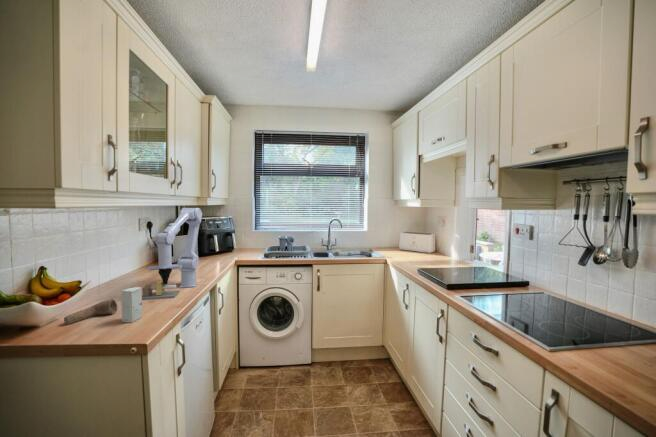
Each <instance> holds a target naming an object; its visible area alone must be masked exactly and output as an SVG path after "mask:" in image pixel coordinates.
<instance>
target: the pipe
mask: <svg viewBox="0 0 656 437" xmlns="http://www.w3.org/2000/svg"><path fill="white" fill-rule="evenodd" d="M117 312H118V303H117V300H115V299H114V298H111V299H106V300H104V301H101V302H98V303H96V304H94V305H91V306H90V307H87V308H84V309H81V310H78V311H76V312H73V313H70V314H68V315H66V316H64V318H63V322H64V323H65V325H72V324H75V323H77V322H81V321H84V320H87V319H89V318H93V317H95V316H106V315H108V316H109V315H115V314H116V313H117Z"/></svg>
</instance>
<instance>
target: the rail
mask: <svg viewBox="0 0 656 437" xmlns="http://www.w3.org/2000/svg"><path fill="white" fill-rule="evenodd" d="M162 289H165V292H164V293H163V294H162V295H156V285H152V284H146V285H144V286H143V287H142V301H146V300H160V299H161V300H163V299H173V298H174V299H175V298H176V297H177V296H178V295H179V293H180V290H172V289H177V284H165V285H163V286H162ZM168 289H169V290H168ZM170 289H171V290H170ZM154 290H155V291H154ZM166 290H167V291H166Z"/></svg>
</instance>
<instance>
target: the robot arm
mask: <svg viewBox="0 0 656 437" xmlns="http://www.w3.org/2000/svg"><path fill="white" fill-rule="evenodd" d="M202 218H203V211H202V210H201V208H199V207H182V208H181V210H179V216H178V217H177V218H176V220H174V222H171V223H169V224H168V225H167V227H166V228H165V229H164V230H163V231H162V232H160V233H158V234H156V236H155V238H154V242H155V243H156V248H158V251H157V252H158V256H157V257H158V265H149V266H148V268H147V270H148V271H158V274H159V276H160V278H161V280H163V284H165V285H168V282H169V277H170V275H171V273H172V271H173V270H179V271H180V277H181V278H180V282H181V283H180V286H178V287H179V288H180V289H181V288H193V287H194V288H195V287H196V286H197V284H198V283H199V282H198V281H197V273H196V270H197V269H198V267H199V264H200V262H199V259H200V258H199V256H198V255H197V254H196V247H197V242H198V237H199V229H200V224H201V223H202ZM185 223H186V224H188V231H187V236H186V237H187V238H186V243H185V248H184V252H183V253H181V254H180V255H179V259H178V260H177V262H176V264H172V262H173V261H172V260H173V259H172V258H173V257H172V244H174V242H175V238H176V235H177V234H178V233H179V232H180V231H181V226H182V225H183V224H185Z"/></svg>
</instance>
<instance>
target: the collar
mask: <svg viewBox="0 0 656 437" xmlns="http://www.w3.org/2000/svg"><path fill="white" fill-rule="evenodd" d="M163 285H166V284H163V280H162V279H159V280H158V281H157V282H155V286H156V290H155V292H156V295H162V294H163V293H164V292H165V291H166V289H162V286H163Z"/></svg>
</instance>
